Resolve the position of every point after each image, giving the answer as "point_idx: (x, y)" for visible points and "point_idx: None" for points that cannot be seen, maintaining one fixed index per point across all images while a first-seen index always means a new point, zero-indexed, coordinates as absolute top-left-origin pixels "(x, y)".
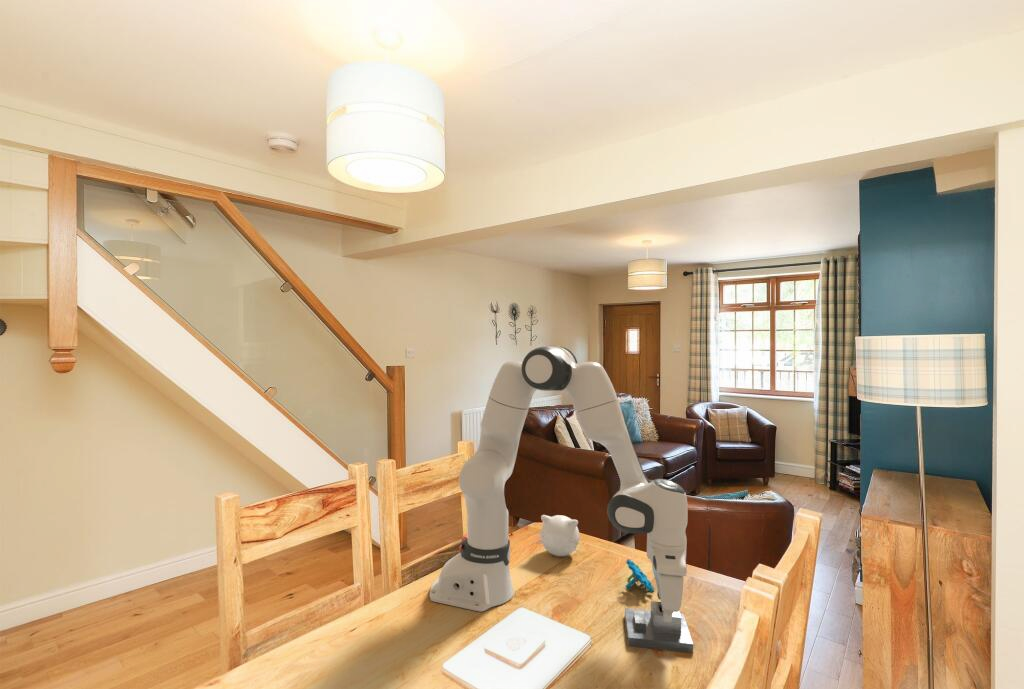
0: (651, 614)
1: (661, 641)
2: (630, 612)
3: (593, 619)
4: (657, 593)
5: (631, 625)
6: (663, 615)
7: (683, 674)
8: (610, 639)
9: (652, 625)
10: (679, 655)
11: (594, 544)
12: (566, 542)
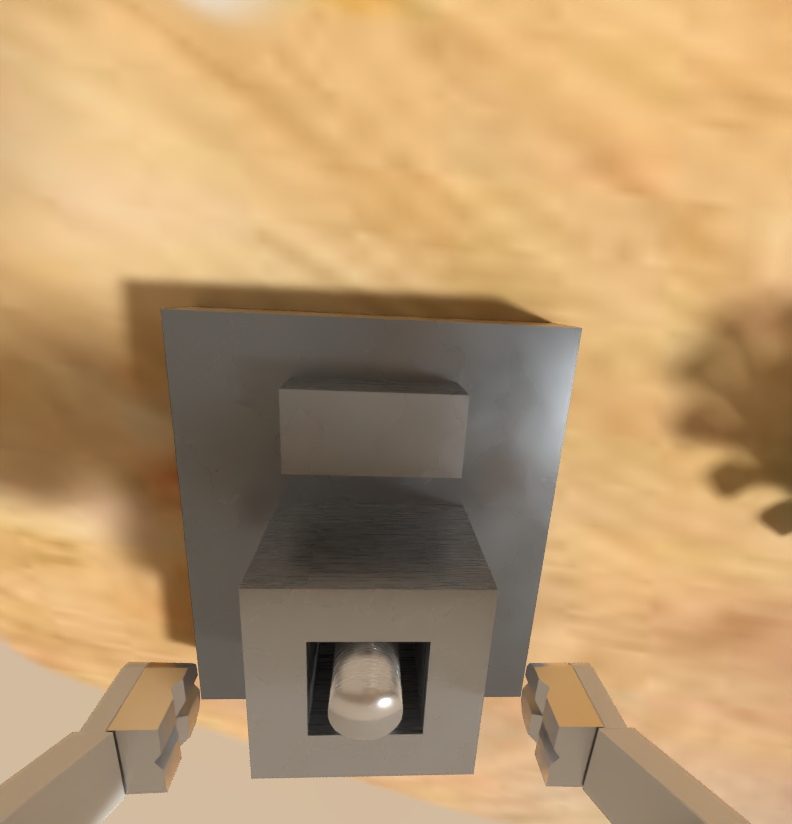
0: (427, 530)
1: (186, 534)
2: (521, 367)
3: (503, 43)
4: (589, 685)
5: (336, 352)
6: (107, 705)
7: (13, 582)
8: (245, 175)
9: (358, 505)
10: (180, 589)
11: None
12: None
